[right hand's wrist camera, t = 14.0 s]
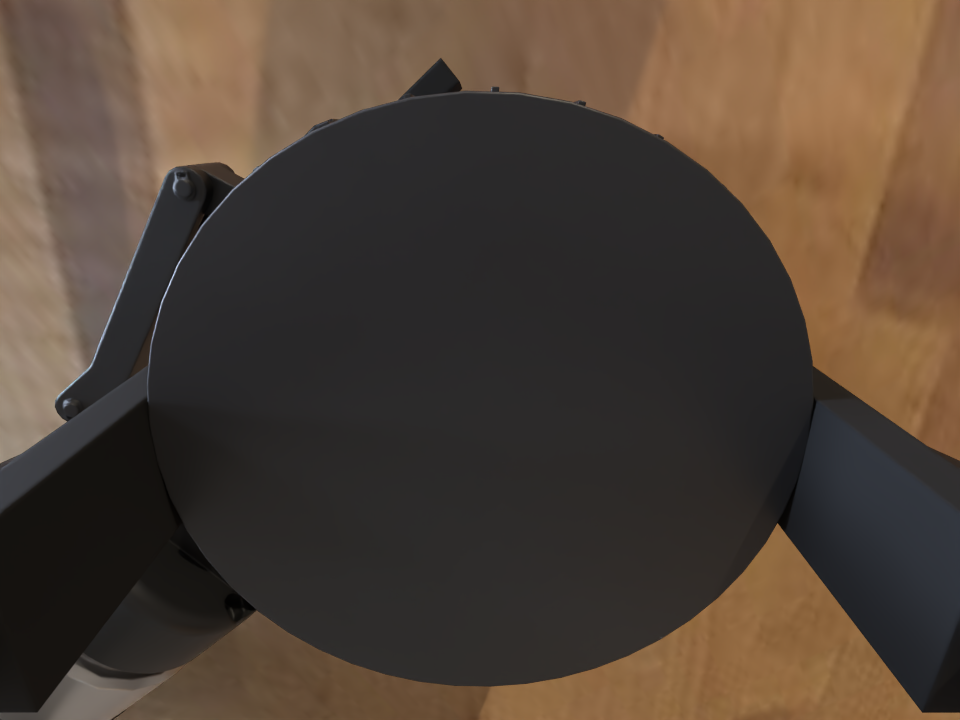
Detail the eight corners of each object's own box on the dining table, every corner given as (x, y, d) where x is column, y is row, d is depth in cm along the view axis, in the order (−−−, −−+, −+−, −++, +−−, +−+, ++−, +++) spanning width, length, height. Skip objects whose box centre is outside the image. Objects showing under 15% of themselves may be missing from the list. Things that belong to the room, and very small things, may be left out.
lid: (329, 660, 14) (307, 736, 13) (84, 212, 10) (0, 230, 9) (792, 551, 13) (843, 617, 11) (717, -4, 9) (776, -38, 7)
